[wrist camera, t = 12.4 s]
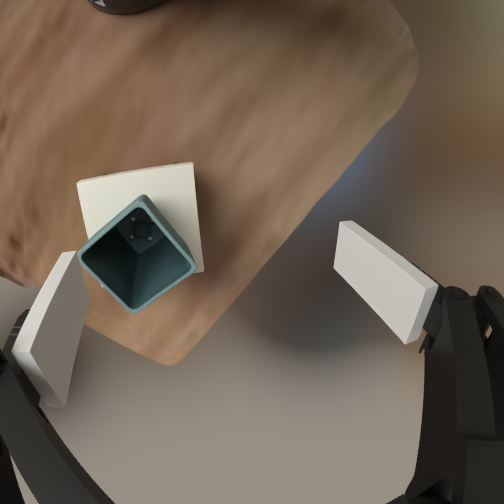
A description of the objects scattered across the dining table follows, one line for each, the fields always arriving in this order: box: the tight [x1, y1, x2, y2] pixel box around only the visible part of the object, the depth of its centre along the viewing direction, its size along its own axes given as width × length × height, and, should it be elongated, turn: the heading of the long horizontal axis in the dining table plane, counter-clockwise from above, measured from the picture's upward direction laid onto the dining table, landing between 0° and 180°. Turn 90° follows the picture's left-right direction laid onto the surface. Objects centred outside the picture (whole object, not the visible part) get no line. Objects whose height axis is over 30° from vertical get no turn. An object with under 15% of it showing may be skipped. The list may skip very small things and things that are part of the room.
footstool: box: [77, 162, 204, 287], centre depth 38 cm, size 14×14×8 cm
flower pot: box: [77, 194, 197, 314], centre depth 30 cm, size 9×9×9 cm
